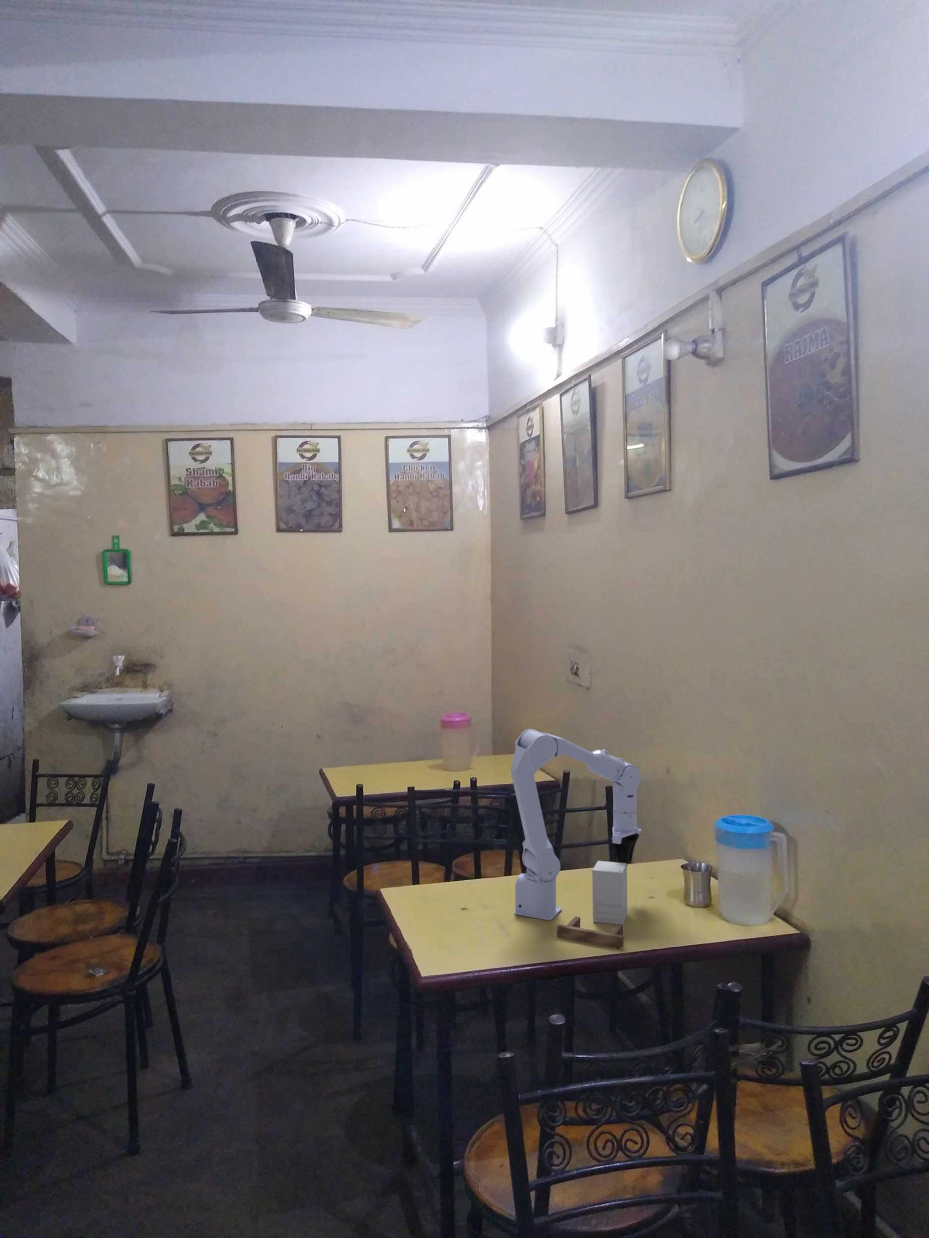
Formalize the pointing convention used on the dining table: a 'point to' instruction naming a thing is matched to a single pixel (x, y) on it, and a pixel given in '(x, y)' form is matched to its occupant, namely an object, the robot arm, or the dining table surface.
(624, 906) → the supplement box
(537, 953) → the dining table surface
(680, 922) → the dining table surface
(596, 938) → the walnut clip
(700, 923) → the dining table surface
